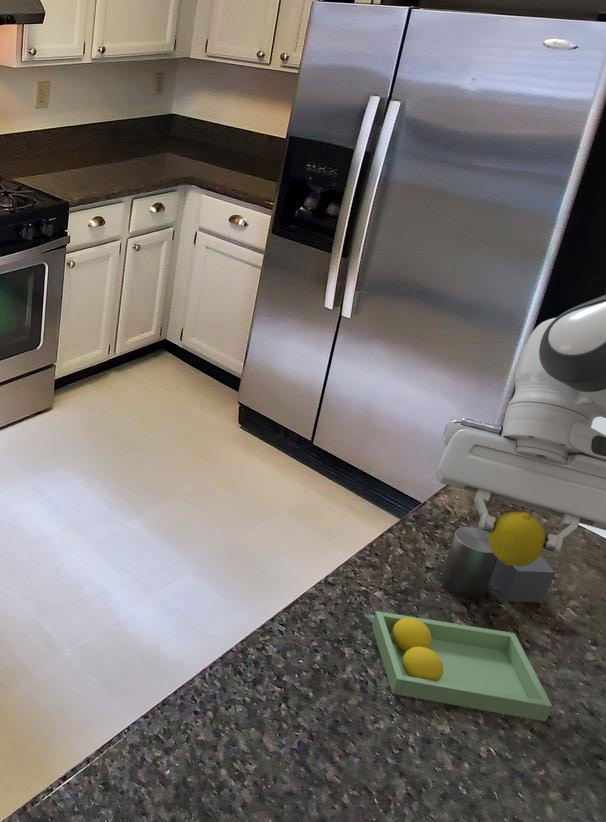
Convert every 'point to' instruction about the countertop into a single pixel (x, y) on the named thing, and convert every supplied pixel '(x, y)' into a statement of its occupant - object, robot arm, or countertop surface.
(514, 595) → the grey block
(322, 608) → the countertop surface
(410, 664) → the small lemon
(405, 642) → the small lemon
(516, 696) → the tray
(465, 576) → the grey tin
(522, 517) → the lemon
